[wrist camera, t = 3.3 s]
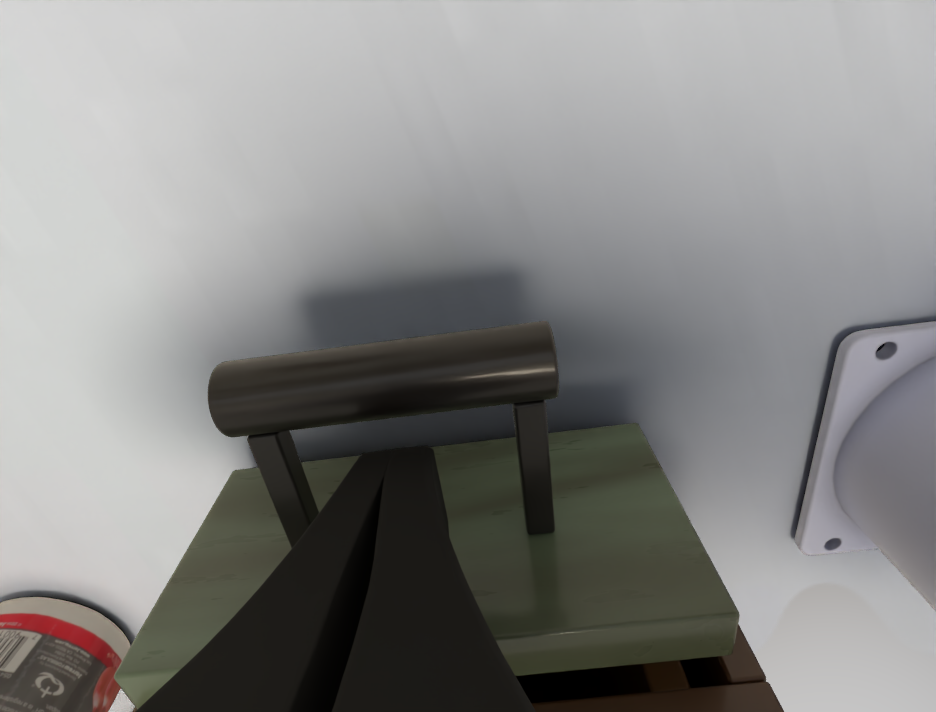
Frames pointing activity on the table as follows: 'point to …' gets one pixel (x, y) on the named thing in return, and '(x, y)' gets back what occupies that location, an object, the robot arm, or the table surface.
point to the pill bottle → (57, 657)
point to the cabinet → (692, 689)
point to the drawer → (462, 516)
